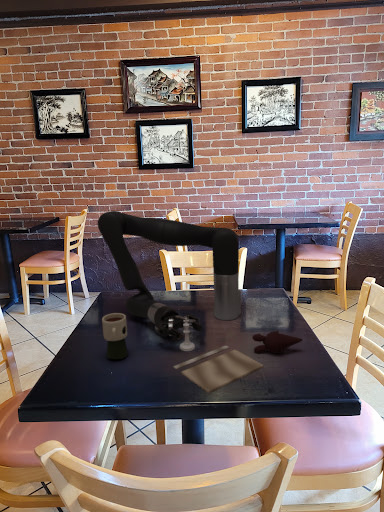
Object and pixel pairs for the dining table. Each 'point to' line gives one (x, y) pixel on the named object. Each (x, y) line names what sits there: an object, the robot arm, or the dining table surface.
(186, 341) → the chess piece
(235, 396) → the dining table surface
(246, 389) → the dining table surface
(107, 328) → the character mug
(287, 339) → the dark brown lumpy figurine
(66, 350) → the dining table surface
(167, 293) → the dining table surface
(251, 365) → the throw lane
